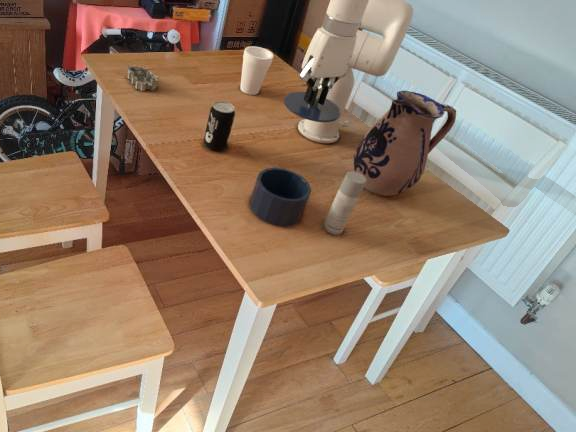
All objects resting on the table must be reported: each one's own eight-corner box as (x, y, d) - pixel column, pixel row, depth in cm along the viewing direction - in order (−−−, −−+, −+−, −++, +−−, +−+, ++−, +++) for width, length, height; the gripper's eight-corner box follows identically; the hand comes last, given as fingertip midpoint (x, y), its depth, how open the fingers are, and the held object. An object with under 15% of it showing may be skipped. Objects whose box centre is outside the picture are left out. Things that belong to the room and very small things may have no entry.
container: (326, 218, 123) (349, 168, 114) (345, 227, 122) (369, 177, 113) (320, 228, 120) (343, 177, 111) (339, 237, 119) (363, 186, 109)
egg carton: (158, 91, 159) (160, 78, 156) (135, 92, 156) (137, 79, 153) (147, 75, 166) (148, 63, 163) (125, 75, 163) (126, 63, 160)
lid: (316, 93, 130) (324, 71, 126) (350, 121, 121) (359, 98, 117) (272, 97, 124) (279, 74, 120) (304, 127, 115) (313, 103, 112)
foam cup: (245, 80, 175) (254, 44, 167) (268, 91, 172) (278, 54, 164) (230, 88, 169) (239, 50, 160) (253, 99, 165) (264, 61, 157)
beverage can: (224, 154, 138) (234, 115, 130) (200, 148, 138) (209, 108, 130) (228, 142, 143) (238, 104, 135) (205, 136, 143) (213, 97, 135)
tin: (282, 188, 130) (291, 164, 125) (311, 220, 122) (321, 196, 117) (240, 196, 125) (247, 171, 120) (267, 230, 116) (276, 204, 112)
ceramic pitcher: (332, 168, 142) (367, 85, 126) (392, 163, 149) (433, 84, 133) (369, 209, 130) (412, 122, 114) (432, 201, 137) (481, 120, 121)
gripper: (357, 18, 116) (330, 92, 127) (300, 19, 109) (277, 97, 120) (379, 32, 111) (348, 107, 123) (321, 33, 104) (294, 113, 116)
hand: (313, 101), depth 121 cm, fingers closed on lid, 2 cm apart
